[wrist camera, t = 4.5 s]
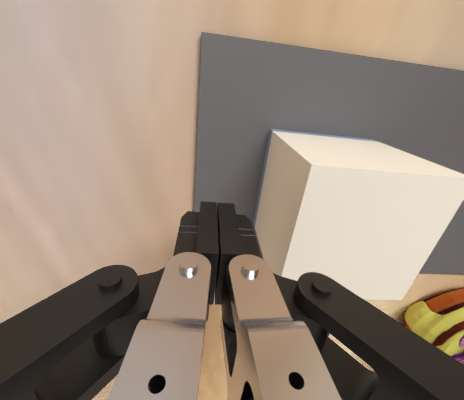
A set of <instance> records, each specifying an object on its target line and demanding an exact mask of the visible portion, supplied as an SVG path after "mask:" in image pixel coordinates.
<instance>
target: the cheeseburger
mask: <svg viewBox="0 0 464 400" xmlns="http://www.w3.org/2000/svg"><path fill="white" fill-rule="evenodd" d="M405 321H406V327H407V328H408V329H410V330H411V331H413V332H414V333H416V334H417V335H419V336H420V337H422V338H423V339H425V340H426V341H428V342H430V343H431V344H433V345H434V346H436V347H437V348H439V349H440V350H442V351H443V352H445V353H446V354H448V355H449V356H451V357H453V358H454V359H456V360H457V361H459V362H460V363H462V364H463V365H464V289H458V290H454V291H451V292H447V293H444V294H441V295H439V296H437V297H434V298H432V299H430V300H428V301H426V302H424V301H419V302H416V303H414V304H413V305H411V306H409V307H408V309H407V311H406V312H405Z"/></svg>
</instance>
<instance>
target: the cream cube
mask: <svg viewBox="0 0 464 400" xmlns="http://www.w3.org/2000/svg"><path fill="white" fill-rule="evenodd" d="M463 200H464V174H462V173H459V172H457V171H454V170H452V169H449V168H446V167H444V166H441V165H438V164H436V163H433V162H431V161H428V160H425V159H423V158H420V157H417V156H415V155H412V154H410V153H407V152H404V151H402V150H399V149H396V148H394V147H391V146H389V145H386V144H383V143H381V142H378V141H375V140H373V139H365V138H355V137H345V136H336V135H326V134H316V133H306V132H297V131H287V130H277V129H270V131H269V137H268V142H267V148H266V153H265V159H264V165H263V170H262V176H261V181H260V187H259V193H258V198H257V204H256V209H255V215H254V221H253V224H254V228H255V231H256V234H257V238H258V241H259V245H260V248H261V251H262V255H263V258H264V260H265V261H266V262H267V263H268V264H269V266H270V268H271V270H272V272H273V273H275V274H277V275H279V276H282V277H285V278H288V279H292V280H295V281H298V279H299V277H300V276H301V275H302V274H304V273H308V272H316V273H321V274H323V275H326V276H328V277H330V278H331V279H333V280H335V281H336V282H338V283H339V284H341V285H342V286H344V287H345V288H347V289H348V290H350V291H351V292H353V293H354V294H356V295H358V296H359V297H361V298H362V299H364V300H402V299H403V298H404V296H405V295H406V293H407V291H408V290H409V288H410V286H411V285H412V283H413V281H414V280H415V278H416V277H417V275H418V273H419V272H420V270H421V268H422V267H423V265H424V264H425V262H426V260H427V259H428V257H429V255H430V254H431V252H432V250H433V249H434V247H435V246H436V244H437V242H438V241H439V239H440V237H441V236H442V234H443V233H444V231H445V229H446V228H447V226H448V224H449V223H450V221H451V219H452V218H453V216H454V215H455V213H456V211H457V210H458V208H459V206H460V205H461V203H462V202H463Z"/></svg>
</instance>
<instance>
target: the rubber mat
mask: <svg viewBox="0 0 464 400" xmlns="http://www.w3.org/2000/svg"><path fill="white" fill-rule="evenodd" d="M270 129H277V130H287V131H297V132H306V133H316V134H326V135H336V136H345V137H355V138H365V139H373V140H375V141H378V142H381V143H383V144H386V145H389V146H391V147H394V148H396V149H399V150H402V151H404V152H407V153H410V154H412V155H415V156H417V157H420V158H423V159H425V160H428V161H431V162H433V163H436V164H438V165H441V166H444V167H446V168H449V169H452V170H454V171H457V172H459V173H462V174H464V71H461V70H454V69H448V68H441V67H434V66H427V65H421V64H414V63H407V62H400V61H394V60H387V59H380V58H373V57H367V56H360V55H353V54H346V53H340V52H333V51H326V50H319V49H313V48H306V47H299V46H292V45H286V44H279V43H272V42H265V41H259V40H252V39H245V38H238V37H232V36H225V35H218V34H211V33H205V32H202V40H201V62H200V84H199V106H198V127H197V149H196V171H195V193H194V212H200V202H201V201H205V202H217V204H218V202H220V203H234V206H235V211H236V214H240V215H246V216H247V217H248V219H249V220H250V221H251V222H252V226H253V230H254V233H255V237H256V241H257V244H258V248H259V251H260V255H261V258H262V259H263V260H264V258H263V255H262V251H261V248H260V245H259V241H258V238H257V234H256V231H255V228H254V224H253V221H254V215H255V209H256V204H257V198H258V193H259V187H260V181H261V176H262V170H263V165H264V159H265V153H266V148H267V142H268V137H269V131H270ZM419 273H436V274H464V200H463V202H462V203H461V205H460V206H459V208H458V210H457V211H456V213H455V215H454V216H453V218H452V219H451V221H450V223H449V224H448V226H447V228H446V229H445V231H444V233H443V234H442V236H441V237H440V239H439V241H438V242H437V244H436V246H435V247H434V249H433V250H432V252H431V254H430V255H429V257H428V259H427V260H426V262H425V264H424V265H423V267H422V268H421V270H420V272H419Z"/></svg>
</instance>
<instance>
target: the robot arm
mask: <svg viewBox="0 0 464 400" xmlns="http://www.w3.org/2000/svg"><path fill="white" fill-rule="evenodd" d="M214 292H215V304H222V317H221V334H222V342H223V351H224V359H225V368H226V376H227V389H228V395H227V400H464V365H463V364H462V363H460V362H459V361H457V360H456V359H454V358H453V357H451V356H449V355H448V354H446V353H445V352H443V351H442V350H440V349H439V348H437V347H436V346H434V345H433V344H431V343H430V342H428V341H426V340H425V339H423V338H422V337H420V336H419V335H417V334H416V333H414V332H413V331H411V330H410V329H408V328H407V327H405V326H403V325H402V324H400V323H399V322H397V321H396V320H394V319H393V318H391V317H390V316H388V315H387V314H385V313H384V312H382V311H380V310H379V309H377V308H376V307H374V306H373V305H371V304H370V303H368V302H367V301H365V300H364V299H362V298H361V297H359V296H358V295H356V294H354V293H353V292H351V291H350V290H348V289H347V288H345V287H344V286H342V285H341V284H339V283H338V282H336V281H335V280H333V279H331V278H330V277H328V276H326V275H323V274H321V273H316V272H308V273H304V274H302V275H301V276H300V277H299V279H298V281H295V280H292V279H288V278H285V277H282V276H279V275H277V274H275V273H273V272H272V270H271V268H270V266H269V264H268V263H267V262H266V261H265V260H263V259H262V258H261V255H260V251H259V248H258V244H257V241H256V237H255V233H254V230H253V226H252V222H251V221H250V220H249V219H248V217H247V216H246V215H240V214H236V211H235V206H234V203H220V202H218V204H217V202H205V201H201V202H200V212H190V211H188V212H187V213H186V214H185V215H183V216H182V218H181V222H180V227H179V232H178V236H177V241H176V246H175V250H174V255H173V257H172V258H171V259H169V261H168V262H167V264H166V267H164V268H163V269H161V270H159V271H156V272H153V273H149V274H144V275H140V276H137V273H136V272H135V271H134V270H133V269H132V268H130V267H128V266H124V265H112V266H107V267H104V268H101V269H99V270H97V271H95V272H93V273H91V274H89V275H88V276H86V277H84V278H82V279H80V280H79V281H77V282H75V283H73V284H71V285H69V286H68V287H66V288H64V289H62V290H60V291H59V292H57V293H55V294H53V295H51V296H50V297H48V298H46V299H44V300H42V301H41V302H39V303H37V304H35V305H33V306H31V307H30V308H28V309H26V310H24V311H22V312H21V313H19V314H17V315H15V316H13V317H12V318H10V319H8V320H6V321H4V322H3V323H1V324H0V400H91V399H92V398H93V397H94V396H96V395H97V394H98V393H99V392H100V391H101V390H102V389H103V388H104V387H105V386H106V385H107V384H108V383H109V382H110V381H111V380H112V379H113V378H114V377H115V376H116V375H117V374H118V376H117V378H116V381H115V383H114V386H113V389H112V391H111V394H110V396H109V399H108V400H198V390H199V380H200V371H201V362H202V352H203V343H204V333H205V324H206V322H207V319H208V313H209V304H213V301H214ZM329 334H331V335H333V336H334V337H335V338H336V339H338V340H339V341H340V342H341V343H343V344H344V345H345V346H346V347H348V348H349V349H350V350H351V351H352V352H354V353H355V354H356V355H357V356H359V357H360V358H361V359H362V360H364V361H365V362H366V363H367V364H368V365H370V366H371V367H372V368H373V369H374V371H375V372H373V371H370V370H368V369H367V368H365V367H364V366H363V365H361V364H360V363H359V362H358V361H357V360H355V359H354V358H353V357H352V356H350V355H349V354H348V353H347V352H346V351H344V350H343V349H342V348H341V347H340V346H338V345H337V344H336V343H335V342H334V341H332V340H331V339H330V338H329V337H328V336H329Z"/></svg>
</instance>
